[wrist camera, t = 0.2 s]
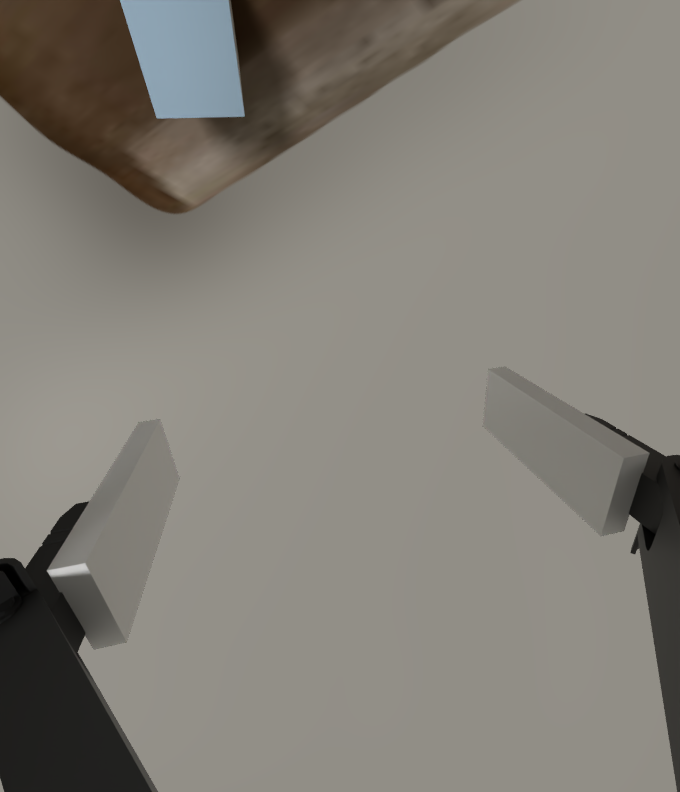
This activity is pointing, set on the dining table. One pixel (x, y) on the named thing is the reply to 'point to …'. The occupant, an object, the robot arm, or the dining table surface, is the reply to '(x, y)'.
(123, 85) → the dining table surface
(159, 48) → the white boxy piece
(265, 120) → the dining table surface
